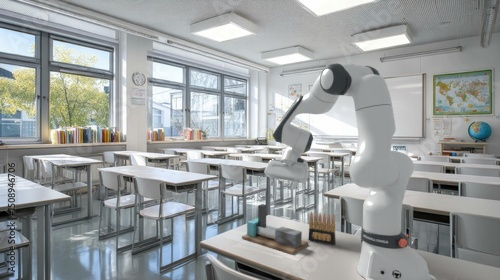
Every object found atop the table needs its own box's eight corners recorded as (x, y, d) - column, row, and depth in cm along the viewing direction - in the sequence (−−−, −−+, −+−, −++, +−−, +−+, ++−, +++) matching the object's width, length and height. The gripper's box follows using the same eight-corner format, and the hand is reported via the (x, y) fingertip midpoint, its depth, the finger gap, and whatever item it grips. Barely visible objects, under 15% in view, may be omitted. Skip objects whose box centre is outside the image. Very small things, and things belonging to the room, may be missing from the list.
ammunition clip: (335, 243, 118) (336, 214, 117) (334, 245, 116) (335, 215, 116) (309, 239, 123) (309, 210, 122) (308, 240, 121) (308, 211, 120)
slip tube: (283, 238, 119) (283, 208, 118) (279, 240, 116) (279, 210, 116) (256, 230, 128) (256, 202, 127) (251, 232, 125) (251, 204, 125)
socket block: (264, 232, 128) (264, 219, 127) (253, 237, 122) (253, 223, 122) (257, 230, 130) (257, 217, 130) (247, 235, 124) (247, 221, 124)
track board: (308, 244, 117) (308, 229, 116) (292, 254, 107) (292, 238, 107) (259, 230, 132) (259, 217, 132) (241, 238, 123) (241, 224, 123)
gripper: (268, 155, 140) (258, 179, 134) (309, 161, 131) (301, 188, 124) (271, 162, 145) (262, 186, 138) (312, 168, 136) (304, 194, 129)
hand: (281, 187), depth 131 cm, fingers open, 8 cm apart
